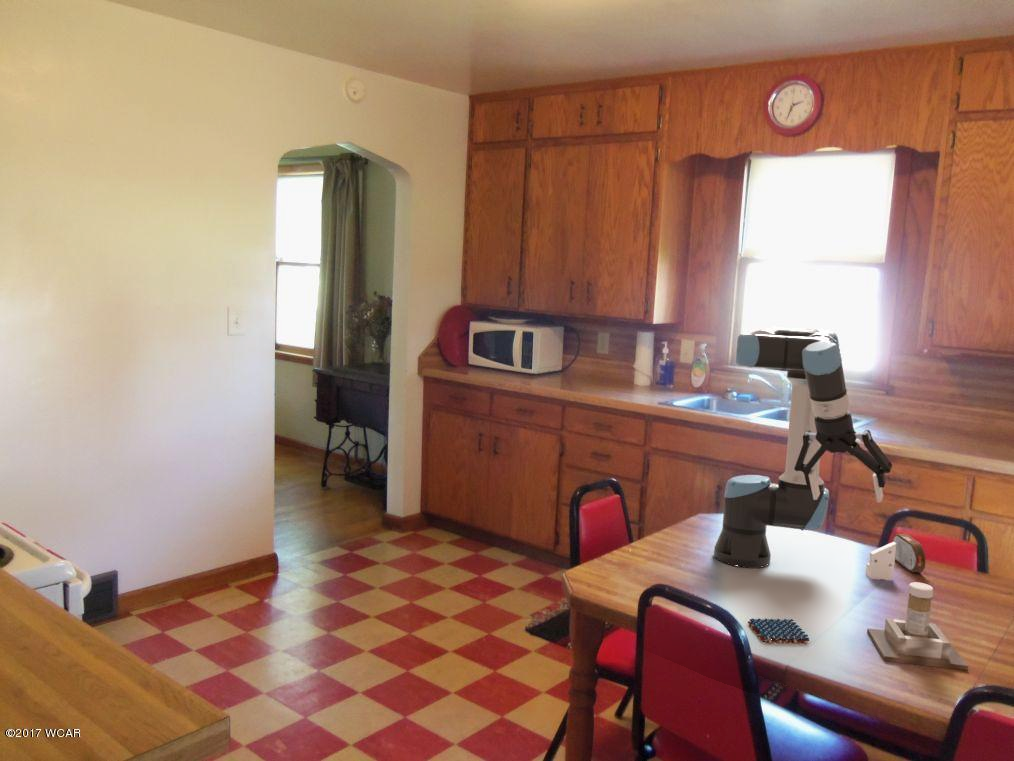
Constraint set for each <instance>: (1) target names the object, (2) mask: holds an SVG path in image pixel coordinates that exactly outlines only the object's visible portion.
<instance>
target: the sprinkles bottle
mask: <svg viewBox="0 0 1014 761" xmlns="http://www.w3.org/2000/svg"><path fill="white" fill-rule="evenodd" d="M933 596H934V588H933V586H931V585H929V584H927V583H923V582H919V581H917V582H916V581H914V582H910V583H909V585H908V602H907V609H906V610H907V611H906V617H905V621H906V625H905V636H914V637H923V638H927V634H928V629H929V623H930V619H931V617H930V616H931V607H932V599H933Z"/></svg>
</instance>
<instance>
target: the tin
mask: <svg viewBox="0 0 1014 761" xmlns="http://www.w3.org/2000/svg"><path fill="white" fill-rule="evenodd" d="M892 542H895V543H896V553H895V561H896V562H897V563H898V564H899V565H901V566H902V567H903V568H904V567H905V568H904V569H906V570H907V571H908V572H910V573H919V572H920V574H922V573H923V571H924V570H925V567H926V563H927V562H926V561H927V560H926V554H925V550H924V547H923V546H922V544H921V543H920V542H919V541H918V540H916V539H915V538H914V537H912V536H910V535H909V534H907V533H896V534H895V535H893V537H892Z"/></svg>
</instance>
